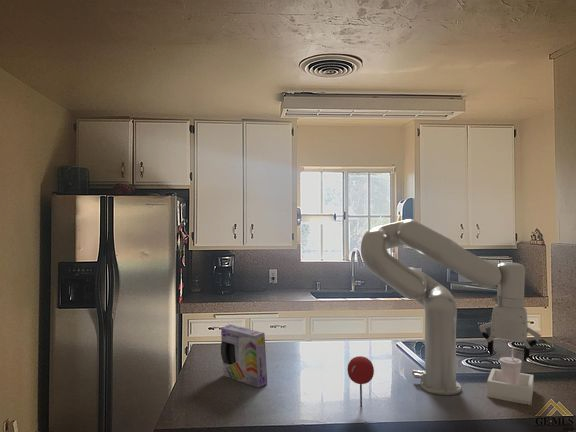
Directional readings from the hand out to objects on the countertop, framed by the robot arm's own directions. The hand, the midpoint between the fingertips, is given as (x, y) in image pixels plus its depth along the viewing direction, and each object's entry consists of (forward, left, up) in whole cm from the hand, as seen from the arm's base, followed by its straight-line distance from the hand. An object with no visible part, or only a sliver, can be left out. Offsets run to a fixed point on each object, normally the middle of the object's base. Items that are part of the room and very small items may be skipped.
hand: (508, 356), depth 142 cm
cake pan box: (-79, -32, -12) cm, 86 cm away
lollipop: (-36, -32, -12) cm, 50 cm away
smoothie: (+1, 0, -11) cm, 11 cm away
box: (+1, 0, -12) cm, 12 cm away
